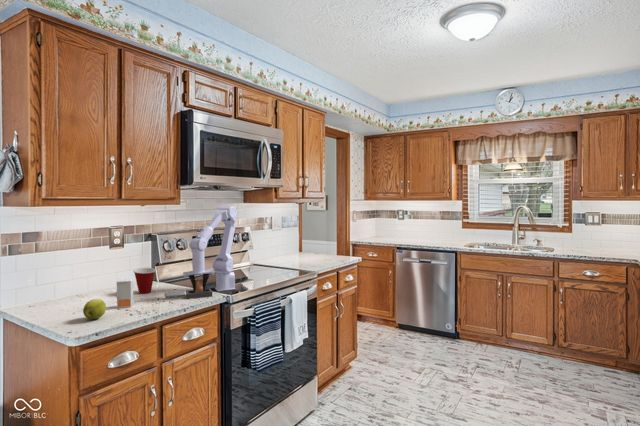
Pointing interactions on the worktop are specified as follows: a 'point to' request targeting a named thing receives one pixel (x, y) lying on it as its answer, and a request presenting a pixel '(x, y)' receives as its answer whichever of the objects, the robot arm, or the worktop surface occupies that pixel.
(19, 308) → the worktop surface
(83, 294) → the worktop surface
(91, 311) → the apple
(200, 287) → the peg
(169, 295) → the mat
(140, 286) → the plastic cup
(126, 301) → the skincare box
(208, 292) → the dark flat piece
